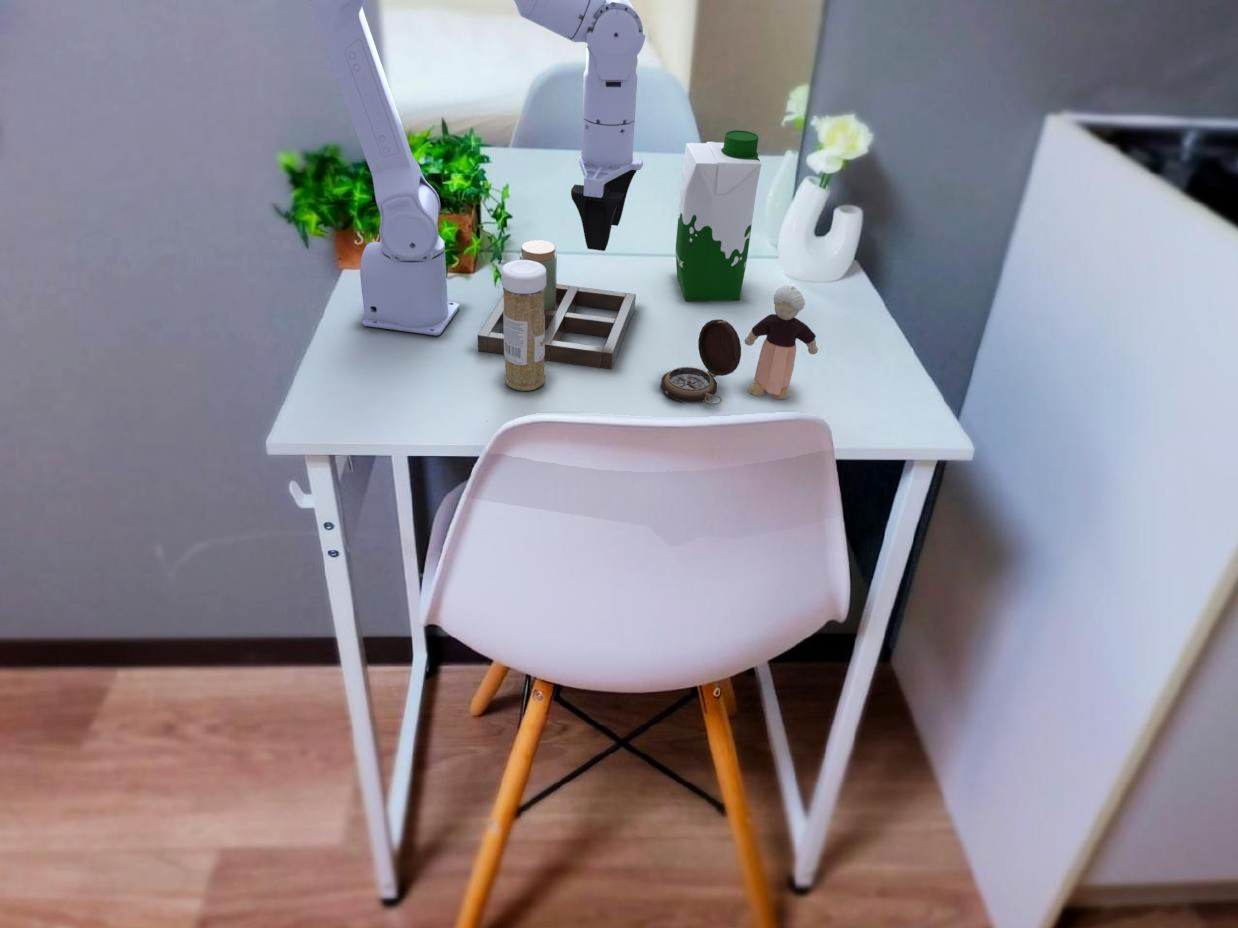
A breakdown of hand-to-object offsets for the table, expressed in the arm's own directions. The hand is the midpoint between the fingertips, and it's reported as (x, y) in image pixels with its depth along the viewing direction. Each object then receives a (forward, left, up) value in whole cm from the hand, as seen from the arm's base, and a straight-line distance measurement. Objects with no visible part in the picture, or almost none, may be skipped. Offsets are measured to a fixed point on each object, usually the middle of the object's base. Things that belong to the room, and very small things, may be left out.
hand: (603, 236), depth 115 cm
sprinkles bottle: (-5, -18, -11) cm, 21 cm away
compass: (+14, -15, -11) cm, 23 cm away
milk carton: (+12, +11, -11) cm, 20 cm away
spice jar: (-8, -1, -10) cm, 13 cm away
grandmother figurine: (+22, -13, -11) cm, 27 cm away
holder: (-4, -5, -10) cm, 12 cm away
